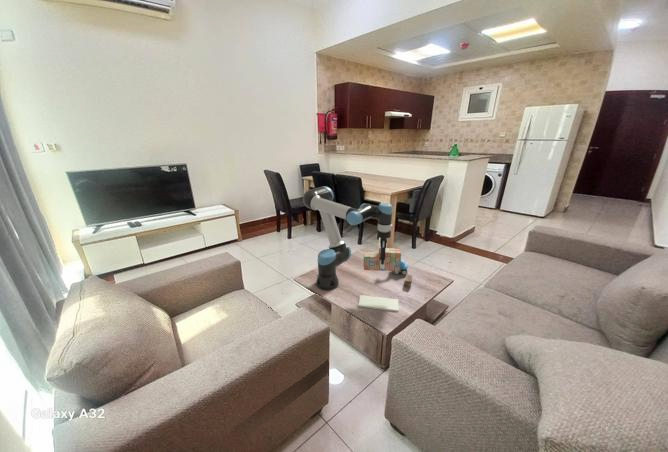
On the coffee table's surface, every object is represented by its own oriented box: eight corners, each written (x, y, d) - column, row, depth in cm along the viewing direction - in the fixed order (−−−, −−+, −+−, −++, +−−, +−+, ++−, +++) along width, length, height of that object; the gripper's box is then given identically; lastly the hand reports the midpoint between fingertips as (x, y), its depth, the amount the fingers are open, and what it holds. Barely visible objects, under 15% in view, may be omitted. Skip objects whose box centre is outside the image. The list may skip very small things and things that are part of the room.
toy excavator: (384, 267, 192) (385, 247, 186) (407, 269, 189) (408, 248, 183) (384, 273, 184) (385, 252, 178) (408, 275, 181) (410, 253, 175)
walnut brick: (404, 286, 168) (404, 280, 167) (405, 280, 175) (406, 274, 173) (410, 288, 167) (411, 281, 165) (411, 281, 174) (412, 275, 172)
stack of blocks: (363, 270, 154) (364, 252, 150) (363, 265, 160) (364, 247, 156) (399, 271, 152) (401, 252, 148) (398, 266, 158) (399, 248, 154)
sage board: (358, 306, 150) (358, 305, 150) (360, 296, 160) (360, 295, 159) (398, 311, 146) (398, 310, 145) (398, 300, 155) (398, 299, 154)
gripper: (391, 237, 138) (388, 274, 146) (390, 224, 155) (388, 258, 164) (376, 236, 139) (375, 273, 147) (378, 223, 157) (376, 257, 165)
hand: (382, 265), depth 155 cm, fingers closed on stack of blocks, 7 cm apart
